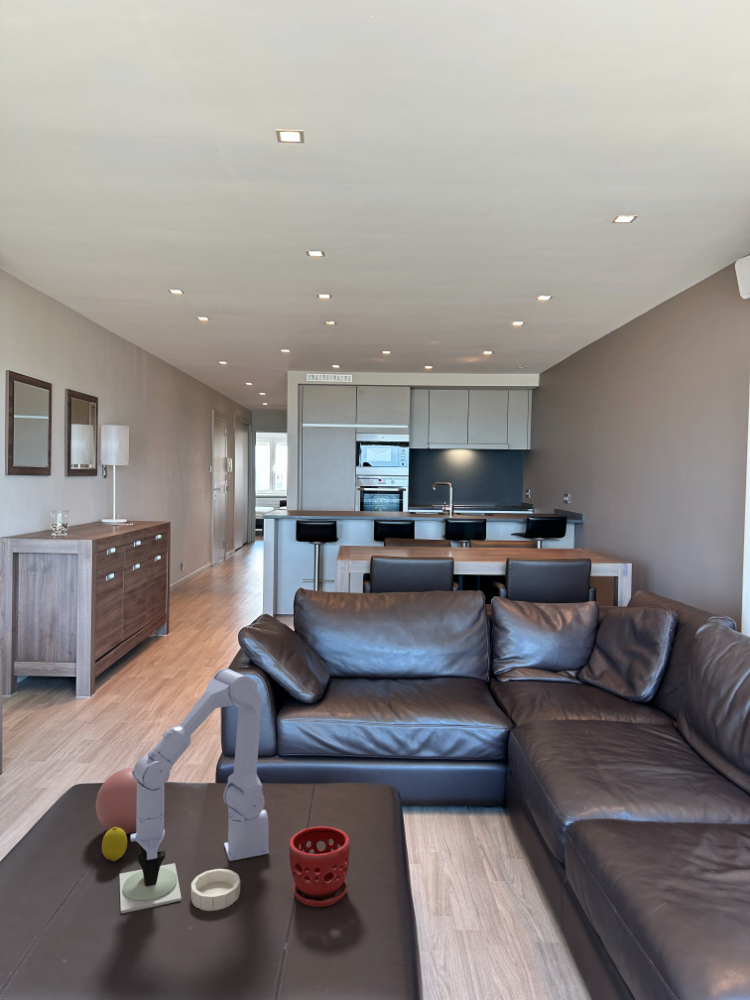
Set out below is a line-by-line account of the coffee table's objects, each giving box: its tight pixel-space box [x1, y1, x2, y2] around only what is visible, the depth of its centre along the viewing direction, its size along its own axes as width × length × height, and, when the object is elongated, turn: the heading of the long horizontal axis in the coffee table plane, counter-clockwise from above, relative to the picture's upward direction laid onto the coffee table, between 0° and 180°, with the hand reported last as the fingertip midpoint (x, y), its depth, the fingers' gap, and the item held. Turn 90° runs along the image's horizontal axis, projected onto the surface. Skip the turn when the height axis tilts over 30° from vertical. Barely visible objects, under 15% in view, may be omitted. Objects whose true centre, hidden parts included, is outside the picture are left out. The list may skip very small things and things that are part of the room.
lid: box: [123, 868, 178, 901], centre depth 144 cm, size 11×11×3 cm
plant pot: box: [288, 825, 351, 908], centre depth 142 cm, size 13×13×12 cm
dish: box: [190, 868, 241, 912], centre depth 141 cm, size 10×10×3 cm
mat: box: [119, 862, 182, 914], centre depth 144 cm, size 12×14×1 cm
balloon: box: [95, 767, 137, 835], centre depth 170 cm, size 15×20×15 cm
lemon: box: [101, 827, 128, 862], centre depth 154 cm, size 6×6×8 cm
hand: (149, 875), depth 144 cm, fingers open, 7 cm apart
